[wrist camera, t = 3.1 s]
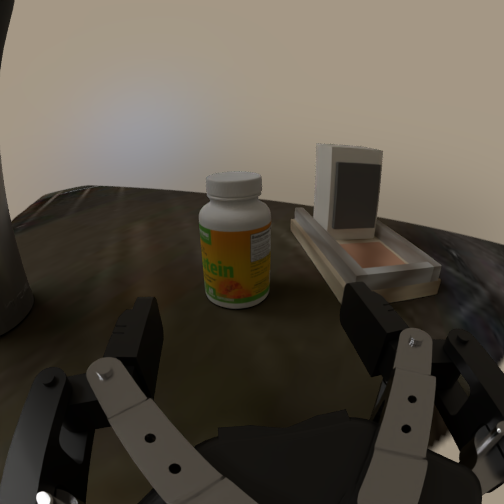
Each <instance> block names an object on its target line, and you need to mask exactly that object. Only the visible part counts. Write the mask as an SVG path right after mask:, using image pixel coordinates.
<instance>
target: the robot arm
mask: <svg viewBox="0 0 504 504" xmlns="http://www.w3.org/2000/svg"><path fill="white" fill-rule="evenodd" d="M13 6H14V0H0V68H1V61H2V55H3V48H4V44H5V40H6V35H7V31H8V27H9V23H10V19H11V15H12V11H13ZM33 303H34V297H33V294H32V291H31V288H30V286H29V283H28V280H27V277H26V274H25V271H24V268H23V264H22V261H21V257H20V254H19V250H18V247H17V243H16V239H15V235H14V231H13V227H12V223H11V219H10V215H9V209H8V204H7V199H6V193H5V187H4V180H3V173H2V164H1V155H0V335H2V334H4V333H6V332H8V331H9V330H11V329H12V328H14V327H15V326H16V325H17V324H19V323H20V322H21V321H22V320H23V319H24V318H25V317H26V315H27V314H28V313H29V311H30V310H31V308H32V306H33ZM340 322H341V325H342V327H343V329H344V330H345V332H346V334H347V336H348V337H349V339H350V341H351V342H352V344H353V346H354V348H355V349H356V351H357V353H358V355H359V356H360V358H361V360H362V362H363V364H364V365H365V367H366V369H367V371H368V372H369V374H370V376H371V377H374V376H378V375H382V377H383V379H382V382H381V384H380V388H379V391H378V395H377V398H376V401H375V405H374V408H373V411H372V414H371V417H370V419H369V420H367V419H362V418H354V417H349V416H348V414H347V411H346V409H345V410H340V411H336V412H332V413H327V414H322V415H317V416H315V417H312V418H310V419H308V420H305V421H303V422H300V423H298V424H295V425H293V426H290V427H287V428H276V427H264V426H253V425H248V426H236V427H221V428H218V436H217V437H214V438H211V439H208V440H206V441H204V442H202V443H200V444H198V445H196V446H195V447H193V446H192V445H191V444H190V443H189V442H188V441H187V440H186V439H185V438H184V437H183V436H182V434H181V433H180V432H179V431H178V430H177V429H176V428H175V426H174V425H173V424H172V423H171V422H170V421H169V420H168V418H167V417H166V416H165V415H164V414H163V412H162V411H161V410H160V409H159V407H158V406H157V405H156V404H155V402H154V394H155V387H156V380H157V374H158V368H159V362H160V356H161V350H162V345H163V326H162V322H161V318H160V313H159V309H158V304H157V300H156V298H155V297H138V298H137V299H136V302H135V304H134V307H133V309H130V310H125V311H124V312H123V313H122V314H121V315H120V316H119V318H118V320H117V323H116V325H115V327H114V330H113V334H112V335H111V338H110V340H109V343H108V345H107V348H106V351H105V353H104V356H103V358H101V359H98V360H96V361H95V362H93V363H92V364H91V365H90V366H89V368H88V369H87V373H84V374H80V375H74V376H69V377H67V376H66V374H65V373H64V371H63V370H62V369H60V368H57V367H50V368H46V369H44V370H42V371H41V372H40V373H39V374H38V375H37V376H36V378H35V380H34V382H33V384H32V387H31V389H30V392H29V394H28V397H27V399H26V402H25V404H24V407H23V410H22V413H21V415H20V418H19V421H18V424H17V427H16V430H15V433H14V436H13V439H12V443H11V446H10V449H9V453H8V457H7V460H6V464H5V468H4V472H3V477H2V481H1V486H0V504H86V493H87V483H88V474H89V466H90V458H91V451H92V445H93V439H94V433H95V429H99V428H104V427H110V426H112V428H113V430H114V431H115V433H116V435H117V436H118V438H119V439H120V441H121V443H122V444H123V446H124V447H125V449H126V450H127V452H128V453H129V455H130V456H131V458H132V459H133V461H134V462H135V463H136V465H137V466H138V468H139V469H140V470H141V472H142V473H143V475H144V476H145V477H146V479H147V480H148V481H149V483H150V484H151V485H152V486H153V489H152V490H151V491H150V492H149V493H148V494H147V495H146V496H145V497H144V498H143V499H142V500H141V501H140V502H139V503H138V504H482V503H481V502H482V495H483V494H485V493H490V492H492V491H494V490H495V489H496V488H498V487H500V486H501V485H502V484H503V483H504V373H503V372H502V371H501V369H500V368H499V367H498V365H497V364H496V363H495V362H494V360H493V359H492V358H491V357H490V355H489V354H488V353H487V352H486V351H485V349H484V348H483V347H482V346H481V345H480V343H479V342H478V341H477V340H476V339H475V338H474V336H473V335H472V334H470V333H469V332H468V331H465V330H463V329H453V330H451V331H450V332H449V334H448V336H447V338H446V340H432V339H431V337H430V336H429V335H428V334H427V333H426V332H425V331H423V330H420V329H417V328H409V327H408V325H407V324H406V323H405V322H404V321H403V319H402V318H401V317H400V316H399V315H398V313H397V312H396V311H394V309H393V308H392V306H391V305H389V303H388V302H387V301H386V299H385V298H384V297H383V296H381V295H380V294H378V293H376V292H375V291H371V290H370V289H369V288H368V286H367V285H366V284H365V283H364V282H353V283H347V284H346V285H345V287H344V292H343V298H342V304H341V309H340ZM460 374H462V375H463V377H464V378H465V380H466V381H467V383H468V384H469V386H470V396H469V398H468V396H467V395H466V393H465V391H464V390H463V388H462V387H461V385H460V384H459V382H458V381H457V379H458V378H459V376H460ZM434 404H435V405H436V407H437V409H438V411H439V413H440V414H441V416H442V418H443V420H444V422H445V424H446V425H447V427H448V429H449V431H450V433H451V435H452V437H453V439H454V441H455V443H456V445H457V446H458V449H459V451H460V454H459V460H460V462H459V463H457V462H455V461H453V460H451V459H448V458H446V457H444V456H442V455H440V454H437V453H435V452H433V451H431V450H429V449H427V446H428V441H429V435H430V429H431V422H432V415H433V407H434Z"/></svg>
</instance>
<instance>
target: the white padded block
mask: <svg viewBox="0 0 504 504" xmlns="http://www.w3.org/2000/svg"><path fill="white" fill-rule="evenodd" d="M382 155H383V151H381V150H377V149H372V148H367V147H361V146H348V145H335V144H317V145H316V176H315V199H314V217H313V218H314V219H315V220H316V221H317V222H318V223H319V224H320V225H321V226H322V227H323V228H324V229H325V230H326V231H327V232H328V233H329V234H330V235H331V236H332V237H333V238H334V239H335V240H350V239H370V238H374V234H375V226H376V219H377V211H378V202H379V193H380V182H381V171H382Z"/></svg>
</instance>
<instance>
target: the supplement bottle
mask: <svg viewBox="0 0 504 504" xmlns="http://www.w3.org/2000/svg"><path fill="white" fill-rule="evenodd" d="M206 190H207V196H208V197H209V198H210V202H209V203H208V204H206V205H205V206H204V207H203V208H202V209H201V211H200V213H199V226H200V238H201V249H202V261H203V272H204V283H205V291H206V295H207V297H208V298H209V300H210V301H212V302H213V303H214V304H216V305H219V306H222V307H225V308H232V309H240V308H248V307H252V306H254V305H257V304H259V303H260V302H262V301H263V300H264V299H265V298H266V297H267V295H268V293H269V288H270V250H271V213H270V209H269V208H268V206H267V205H266V204H265V203H263V202H261V201H259V200H258V196H260V195H261V191H262V179H261V175H260V174H257V173H253V172H222V173H216V174H212V175H209V176H208V177H207V178H206Z"/></svg>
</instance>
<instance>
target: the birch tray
mask: <svg viewBox="0 0 504 504" xmlns="http://www.w3.org/2000/svg"><path fill="white" fill-rule="evenodd" d="M291 231H292V233H293V234H294V235H295V237H296V238H297V240H298V241H299V243H300V244H301V246H302V247H303V248H304V250H305V251H306V253H307V254H308V256H309V257H310V259H311V260H312V262H313V263H314V265H315V266H316V267H317V269H318V270H319V272H320V273H321V275H322V276H323V278H324V279H325V281H326V282H327V284H328V285H329V287H330V288H331V290H332V291H333V293H334V294H335V296H336V297H337V299H338V301H339V302H340V304H342V298H343V292H344V287H345V285H346V284H347V283H353V282H364V283H365V284H366V285H367V286H368V288H369V289H370V290H371V291H375V292H376V293H378V294H380V295H381V296H383V297H384V298H385V299H386V301H387V302H388V303H392V302H398V301H404V300H409V299H414V298H420V297H425V296H430V295H435V294H437V292H438V289H439V286H440V282H441V280H440V279H439V278H438V277H439V274H440V270H441V267H442V266H441V265H440V264H439V263H437V262H436V261H435V260H434V259H432V258H431V257H430V256H428V255H427V254H426V253H424V252H423V251H421V250H420V249H419V248H417V247H416V246H415V245H413V244H412V243H410V242H409V241H408V240H406V239H405V238H403V237H402V236H401V235H399V234H398V233H396V232H395V231H393V230H392V229H390V228H389V227H387V226H386V225H385V224H383V223H382V222H380V221H379V220H377V219H376V226H375V234H374V238H370V239H350V240H335V239H334V238H333V237H332V236H331V235H330V234H329V233H328V232H327V231H326V230H325V229H324V228H323V227H322V226H321V225H320V224H319V223H318V222H317V221H316V220H315V219H314V218H313V217H312V216H311V215H310V214H309V213H308V212H307V211H306V210H305V209H304V208H295V219H291Z"/></svg>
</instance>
